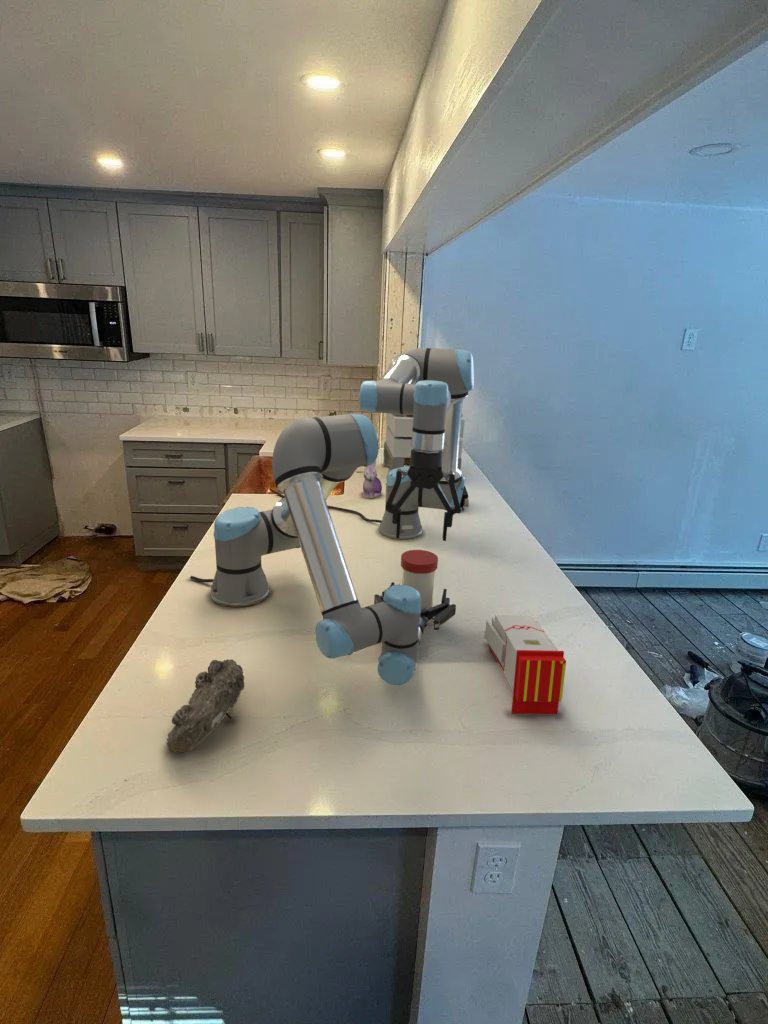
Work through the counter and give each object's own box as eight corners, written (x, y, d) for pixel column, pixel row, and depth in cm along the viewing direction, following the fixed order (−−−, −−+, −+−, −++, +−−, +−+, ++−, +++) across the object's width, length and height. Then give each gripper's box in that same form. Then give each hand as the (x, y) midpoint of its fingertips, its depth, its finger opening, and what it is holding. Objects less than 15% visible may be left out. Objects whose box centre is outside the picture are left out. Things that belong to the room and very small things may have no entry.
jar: (401, 625, 142) (405, 565, 136) (397, 609, 150) (401, 551, 144) (433, 625, 143) (438, 565, 137) (428, 609, 151) (433, 552, 145)
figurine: (366, 499, 233) (368, 464, 228) (356, 492, 241) (357, 458, 236) (387, 497, 237) (388, 462, 232) (376, 490, 246) (377, 456, 241)
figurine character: (468, 516, 224) (463, 500, 237) (471, 498, 221) (465, 483, 234) (452, 515, 224) (447, 499, 237) (453, 498, 220) (449, 482, 234)
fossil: (192, 660, 117) (244, 628, 112) (224, 691, 120) (276, 661, 115) (142, 746, 98) (202, 712, 93) (182, 779, 101) (242, 748, 96)
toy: (530, 600, 137) (574, 657, 108) (525, 651, 140) (567, 720, 111) (480, 599, 137) (511, 656, 107) (477, 651, 139) (506, 719, 110)
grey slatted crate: (382, 463, 289) (386, 382, 275) (445, 464, 293) (451, 384, 279) (390, 482, 257) (394, 392, 243) (460, 483, 261) (468, 394, 247)
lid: (402, 573, 137) (403, 564, 136) (398, 557, 145) (399, 549, 144) (440, 573, 137) (441, 565, 137) (434, 558, 146) (434, 549, 145)
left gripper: (351, 639, 131) (371, 596, 150) (460, 655, 126) (465, 609, 146) (352, 611, 128) (372, 571, 148) (463, 626, 124) (468, 583, 144)
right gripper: (475, 448, 134) (467, 534, 142) (378, 443, 135) (375, 528, 143) (478, 456, 127) (469, 546, 135) (376, 450, 128) (372, 540, 136)
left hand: (418, 590), depth 147 cm, fingers open, 13 cm apart
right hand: (421, 537), depth 139 cm, fingers open, 11 cm apart
